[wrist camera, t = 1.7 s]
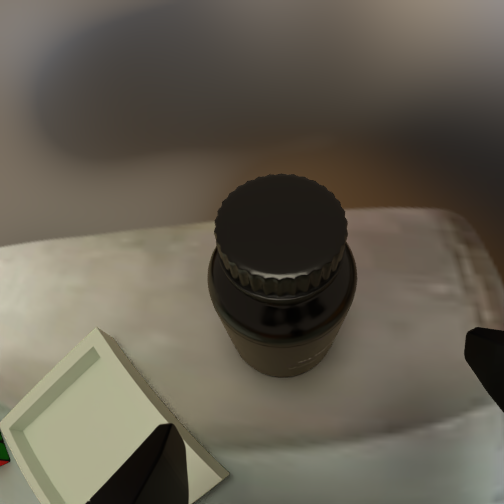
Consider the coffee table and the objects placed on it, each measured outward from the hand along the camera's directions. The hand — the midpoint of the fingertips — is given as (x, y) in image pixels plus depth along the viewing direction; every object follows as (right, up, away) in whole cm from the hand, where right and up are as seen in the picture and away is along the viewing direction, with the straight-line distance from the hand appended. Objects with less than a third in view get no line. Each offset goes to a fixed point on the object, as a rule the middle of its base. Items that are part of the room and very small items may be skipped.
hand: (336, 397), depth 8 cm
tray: (-13, -10, +9) cm, 19 cm away
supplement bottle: (0, -1, +14) cm, 14 cm away
